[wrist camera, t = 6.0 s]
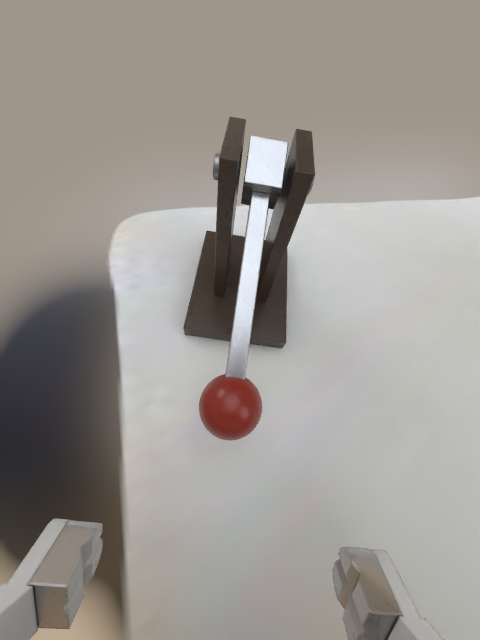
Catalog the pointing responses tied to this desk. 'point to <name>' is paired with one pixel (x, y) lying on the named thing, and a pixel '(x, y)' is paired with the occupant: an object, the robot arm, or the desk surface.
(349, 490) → the desk surface
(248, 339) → the tap lever
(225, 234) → the block
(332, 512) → the desk surface
